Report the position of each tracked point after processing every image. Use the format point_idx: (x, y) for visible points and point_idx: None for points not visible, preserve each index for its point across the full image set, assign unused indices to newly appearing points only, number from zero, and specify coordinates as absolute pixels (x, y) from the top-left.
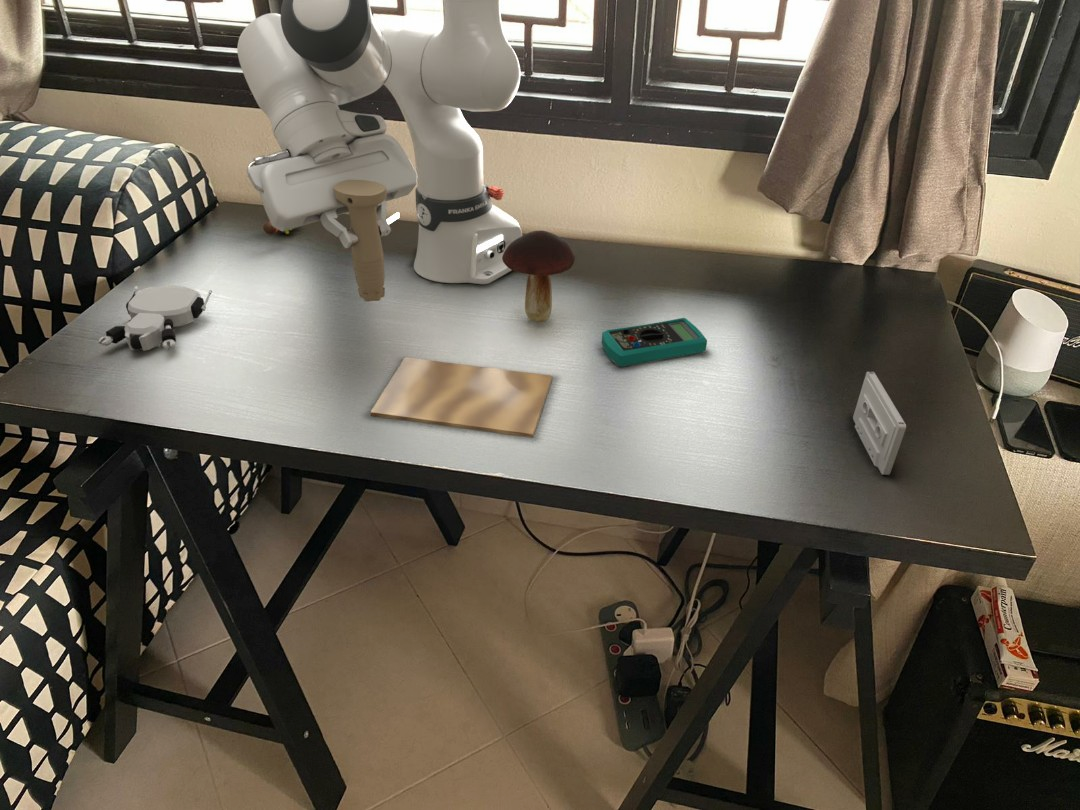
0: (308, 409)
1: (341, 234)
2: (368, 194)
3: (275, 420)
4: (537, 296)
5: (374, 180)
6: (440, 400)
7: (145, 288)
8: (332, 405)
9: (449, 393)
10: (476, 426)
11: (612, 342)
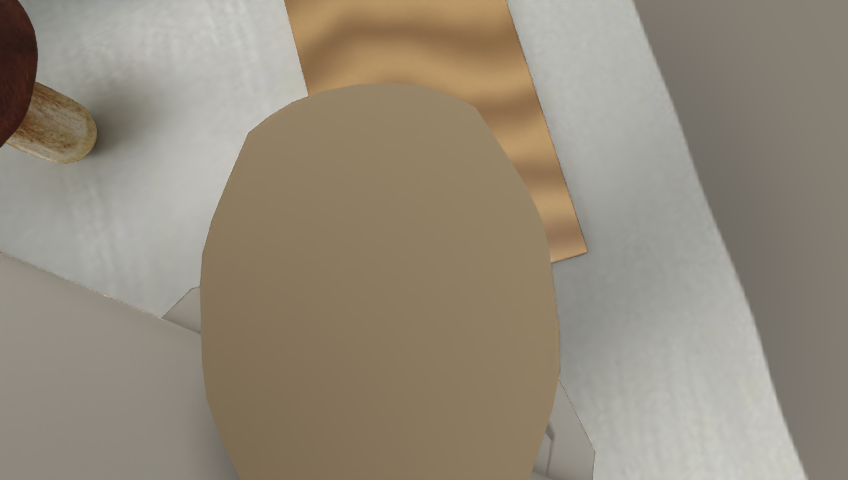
0: (638, 391)
1: None
2: (467, 147)
3: (711, 431)
4: (50, 100)
5: (91, 387)
6: None
7: None
8: (597, 352)
9: None
10: (517, 35)
11: None
